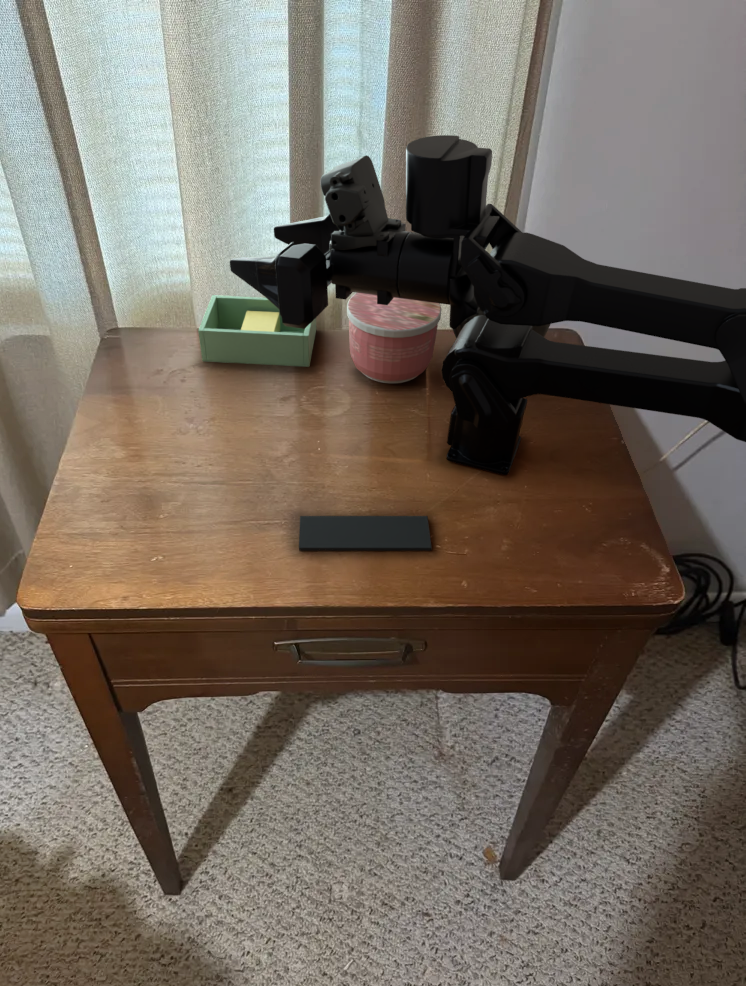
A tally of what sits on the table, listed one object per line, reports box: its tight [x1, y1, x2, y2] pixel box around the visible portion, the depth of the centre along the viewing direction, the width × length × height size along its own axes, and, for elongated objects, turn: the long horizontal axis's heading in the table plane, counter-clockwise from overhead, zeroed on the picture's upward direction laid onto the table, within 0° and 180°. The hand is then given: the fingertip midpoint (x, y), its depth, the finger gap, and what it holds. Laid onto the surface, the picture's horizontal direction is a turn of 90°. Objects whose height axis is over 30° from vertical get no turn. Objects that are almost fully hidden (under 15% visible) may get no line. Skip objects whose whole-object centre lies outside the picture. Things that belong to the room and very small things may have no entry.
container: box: [346, 292, 443, 384], centre depth 86 cm, size 10×10×8 cm
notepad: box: [241, 311, 280, 332], centre depth 91 cm, size 4×6×3 cm, turn 176°
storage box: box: [197, 294, 317, 368], centre depth 90 cm, size 13×8×4 cm, turn 86°
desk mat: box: [298, 515, 433, 552], centre depth 70 cm, size 12×4×1 cm, turn 91°
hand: (253, 247), depth 73 cm, fingers open, 9 cm apart
